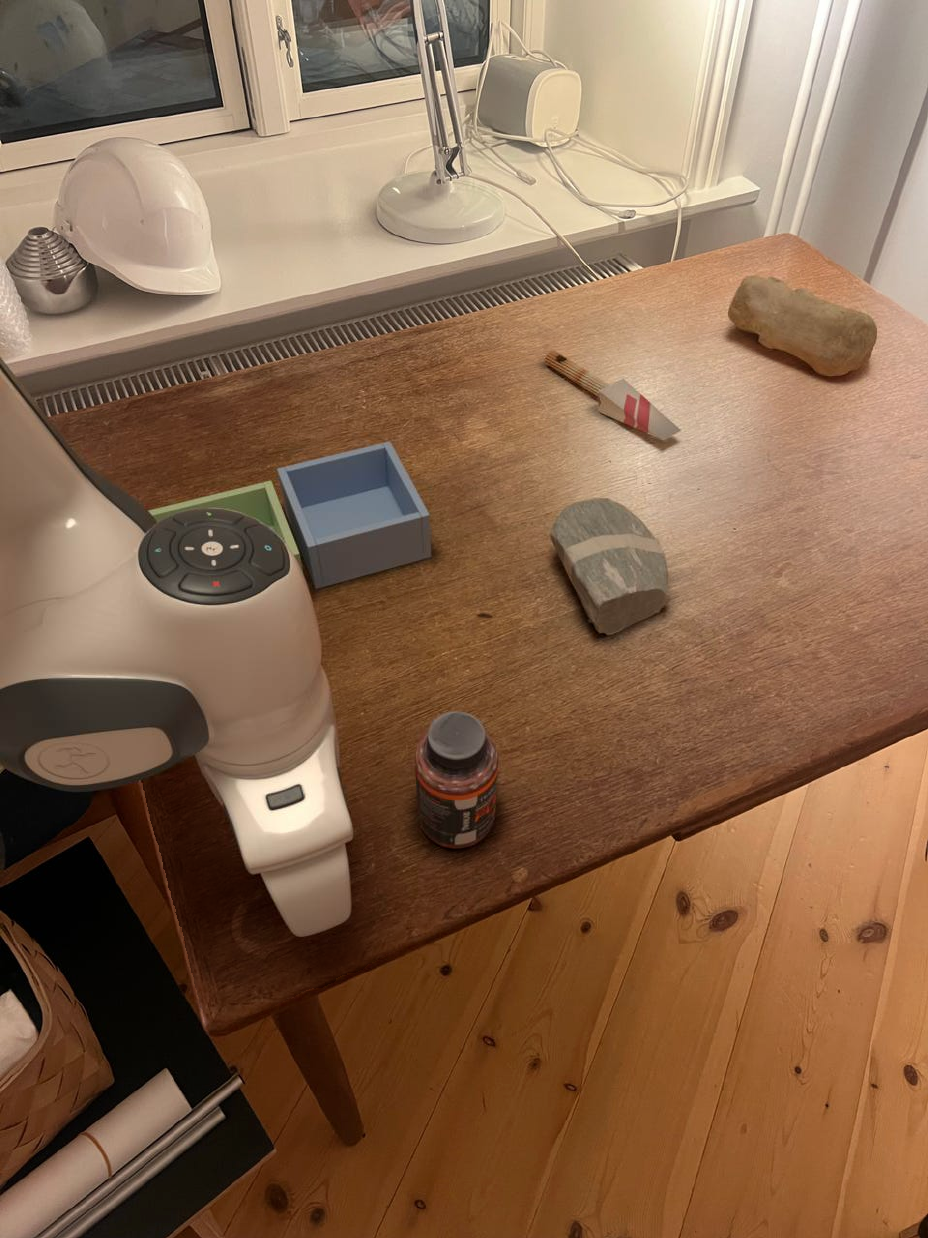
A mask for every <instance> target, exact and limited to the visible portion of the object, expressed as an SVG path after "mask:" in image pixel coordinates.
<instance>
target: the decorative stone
mask: <svg viewBox="0 0 928 1238" xmlns="http://www.w3.org/2000/svg"><path fill="white" fill-rule="evenodd" d="M549 538H550V540H551V542H552V546H553V547H554V548H555V550H556V554H557V556H558V558H559V560H560V561H561V563H562V565H563V568H564V570H565V572H566V573H567V576H568V578H569V580H570V583H571V584H572V585H573V588H574V590H575V592H576V593H577V595H578V598H579V600H580V603H581V605H582V607H583V609H584V611H585V613H586V618H587V621H588V622H589V623H591V624H593V625H594V628H595V630H596V631H597V632H598V633H599V634H605V635H606V636H613V635H615V634H616V633H619V632H621V631H623V630H624V629H626V628H629V627H631V626H633V625H634V624H637V623H639V622H642V621H644V620H646V619H649V618H651V617H652V616H655V614H658V613H660V612H661V610H662V609H663V608H664V607H666V604H667V603H668V600H669V587H668V578H669V569H668V566H667V559H666V554H665V551H664V549H663V547H662V544H661V542H660V539H659V538H658V537H657V538H656V537H655V536H654V535H653V533H652V531H650V529H648V527H647V525H646V524H645V523H644V522H643V521H642V520H641V519H640V518H639V517H638V516H637V515H636V514H635V513H634V512H632V511H631V510H629V509H628V508H627V507H626V506H625V505H623V504H621V503H620V502H617V501H614V500H611V499H610V498H608V497H599V498H591V499H585V500H581V501H577V502H576V501H575V502H573V503H571V504H569V505H567V506H565V507H564V508H563V509H562V510H561V511H560V513H559V515H558V516H557V517H556V518H555V520H554V522H553V524H552V525H551V528H550V533H549Z"/></svg>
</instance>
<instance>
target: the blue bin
mask: <svg viewBox="0 0 928 1238" xmlns="http://www.w3.org/2000/svg"><path fill="white" fill-rule="evenodd" d="M276 472H277V478H278V482H279V487H280V491H281V493H280V494H281V498H282V502H283V508H284V513H285V516H286V517H287V519H288V520H287V521H288V522H289V526H290V529H291V530H292V532H293V533H292V534H293V535H294V537H295V541H296V544H297V545H298V546H297V547H298V548H299V551H300V554H301V556H302V558H303V561H304V563H305V566H306V568H307V571H308V573H309V576H310V579H311V581H312V584H313V587H314V589H315V590H318V589H321V588H325V587H328V586H332V585H336V584H339V583H343V582H347V581H351V580H354V579H358V578H361V577H364V576H365V577H366V576H369V575H373V574H375V573H379V572H383V571H387V570H390V569H393V568H397V567H400V566H404V565H409V564H412V563H416V562H418V561H422V560H426V559H429V558H432V541H431V540H432V539H431V514H430V512H429V511H428V509H427V507H426V505H425V503H424V502H423V499H422V498H421V496H420V494H419V492H418V490H417V489H416V487H415V485H414V482H413V481H412V480H411V477H410V476H409V473H408V472H407V470H406V468H405V466H404V465H403V463H402V460H401V459H400V456H399V455H398V453H397V451H396V450H395V447H394V446H393V444H392V442H391V441H390V440H389V441H386V442H381V443H377V444H373V445H369V446H364V447H360V448H356V449H352V450H348V451H343V452H340V453H336V454H332V455H327V456H324V457H319V458H315V459H311V460H306V461H302V462H298V463H295V464H291V465H286V466H283V467H279V468H276Z"/></svg>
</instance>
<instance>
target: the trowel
mask: <svg viewBox="0 0 928 1238" xmlns="http://www.w3.org/2000/svg"><path fill="white" fill-rule="evenodd" d="M544 360H545V361H544V363H545V364H546V365H547V366H549V367H551V369H554V370H555V371H556V372H559V373H560V374H561V375H563V376H565V377H566V378H568V379H569V380H571V381H572V382H574V383H576V384H577V385H579V386H580V387H582V388H583V389H584V390H586V391H588V392H590V393H591V394H593V395H594V396H596V397H598V398H599V400H600V404H599V406H598V408H597V410H596V412H598V413H601V414H603V415H605V416H607V417H610V418H611V419H614V420H616V421H618V422H621V423H623V424H626V425H627V426H630V427H632V428H635V429H637V430H639V431H641V432H643V433H645V434H648V435H650V436H652V437H654V438H656V439H658V440H661V441H666V439H669V438H670V437H672V436H674V435H676V434H678V433H679V432H682V430H681V428H680V427H678V426H677V425H676V424H675V423H674V422H673V421H671V420H670V419H669V418H668V417H667V415H665V414H664V413H662V412H661V410H659V409H658V408H657V407H656V406H655V405H653V403H651V402H650V401H649V400H648V399H647V398H646V397H645V396H644V395H643V394H642V393H640V392H639V391H638V390H637V389H636V388H635V387H634V386H633V385H632V384H631V383H629V382H628V381H627V380H626V379H625V378H621V379H619V380H617V381H615V382H613V383H611V384H609V383H607V382H606V381H604V380H603V379H601V378H599V377H597V376H596V375H594V374H593V373H591V372H590V371H588V370H587V369H585V368H584V367H582V366H580V365H579V364H577V363H576V362H574V361H572V360H571V359H569V358H567V357H565V356H564V355H562V354H561V353H559V352H558V351H556V350H553V349H552V350H550V351H548V353H547V354H546V356H545V359H544Z"/></svg>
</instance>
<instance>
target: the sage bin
mask: <svg viewBox="0 0 928 1238" xmlns="http://www.w3.org/2000/svg"><path fill="white" fill-rule="evenodd" d="M199 508H220V509H228V510H233V511H237V512H240V513H243V514H246V515H248V516H251V517H253V518H255V519H257V520H259V521H260V522H262V523H264V524H265V525H267V526H268V527H269V528H271V529H272V530H273V531H274V532H275V533H277V534H278V535H279V536H280V537H281V538H282V540H283V541H284V542H285V543H286V544H287V546H288V547H289V549H290V550H291V551H292V553H293V555H294V557H295V558H296V560H297V562H298V564H299V566H300V568H301V570H302V572H303V573H304V570H303V565H302V559H301V553H300V552H299V551H300V550H299V549H298V548H299V547H298V546H297V542H296V540H295V539H294V536H293V533H292V531H291V530H292V529H291V527H290V524H289V523H288V520H287V518H286V517H287V516H286V514H285V511H284V510H283V507H282V505H281V502H280V500H279V498H278V495H277V492H276V488H275V486H274V484H273V481H272V480H267V481H263V482H259V483H255V484H251V485H246V486H243V487H238V488H236V489H235V488H234V489H231V490H227V491H221V492H218V493H215V494H209V495H205V496H201V497H199V498H194V499H189V500H186V501H181V502H178V503H173V504H170V505H165V506H162V507H157V508H153V509H149V510H148V511H149V512H150V513H151V515H152V516H153V517H154V518H155V520H156V521H157V522H160V521H161V520H163V519H165V518H167V517H169V516H171V515H174V514H176V513H179V512H183V511H187V510H192V509H199Z"/></svg>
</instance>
